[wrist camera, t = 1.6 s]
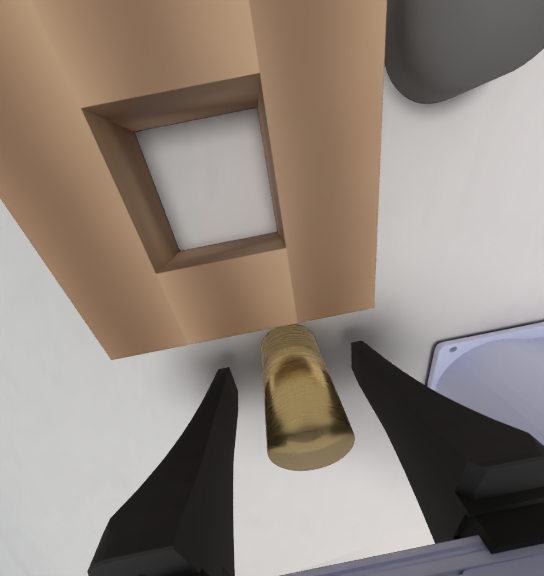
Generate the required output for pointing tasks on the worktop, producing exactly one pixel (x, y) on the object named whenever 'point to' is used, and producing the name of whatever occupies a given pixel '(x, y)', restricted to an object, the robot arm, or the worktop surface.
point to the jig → (179, 108)
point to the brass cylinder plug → (301, 403)
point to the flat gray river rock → (458, 43)
